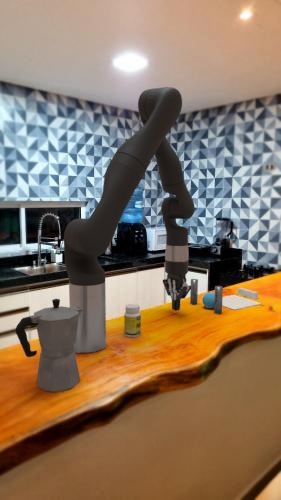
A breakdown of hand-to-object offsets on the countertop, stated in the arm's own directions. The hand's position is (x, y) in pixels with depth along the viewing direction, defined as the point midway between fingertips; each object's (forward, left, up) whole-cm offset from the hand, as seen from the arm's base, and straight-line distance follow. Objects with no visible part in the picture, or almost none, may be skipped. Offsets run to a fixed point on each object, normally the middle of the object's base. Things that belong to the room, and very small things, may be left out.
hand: (175, 309), depth 122 cm
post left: (+13, +6, -2) cm, 15 cm away
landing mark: (+27, 0, -2) cm, 27 cm away
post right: (+13, -6, -2) cm, 15 cm away
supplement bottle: (-22, -8, -2) cm, 23 cm away
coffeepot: (-50, -23, -2) cm, 55 cm away
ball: (+15, -1, +1) cm, 15 cm away
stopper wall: (+37, +3, -2) cm, 38 cm away
